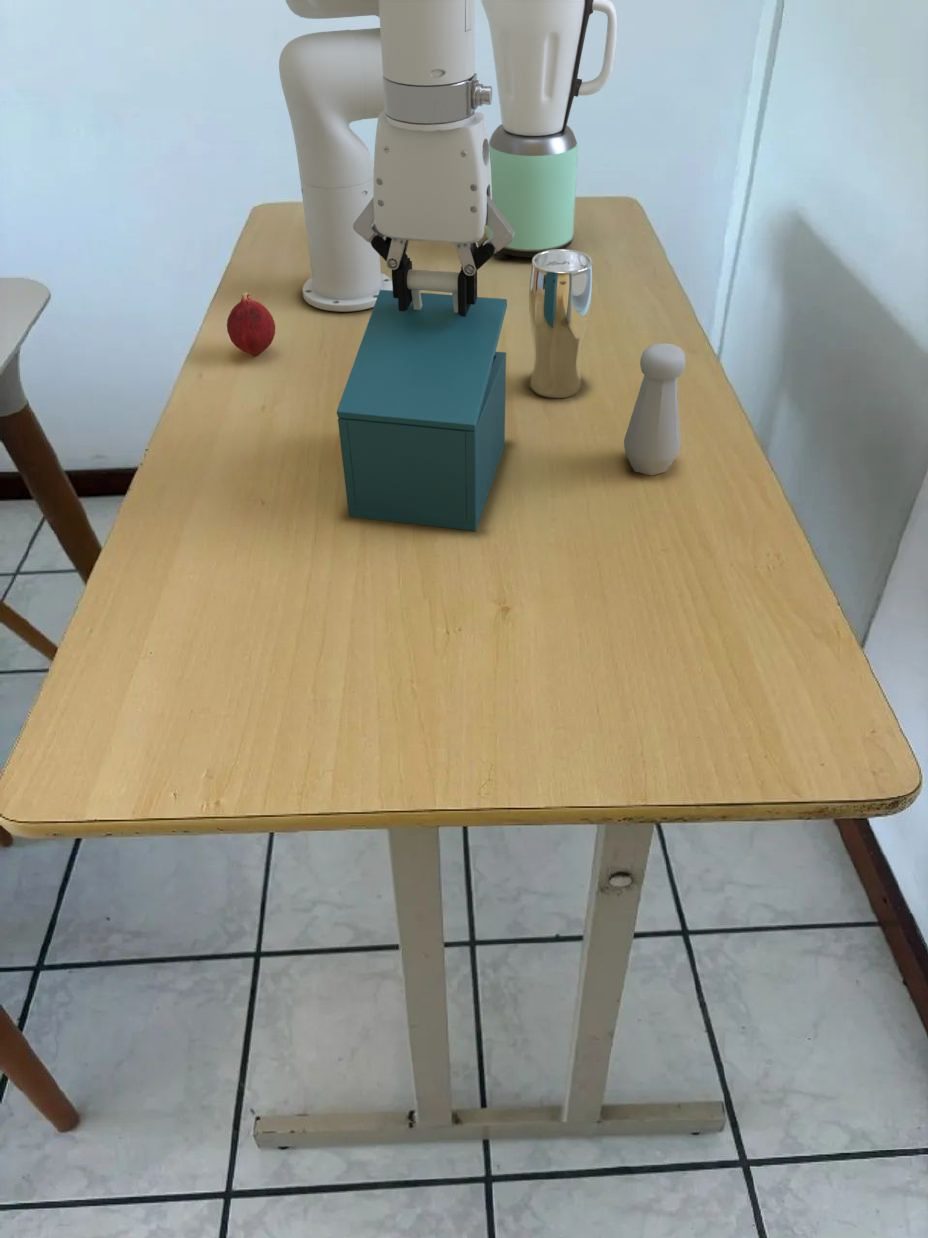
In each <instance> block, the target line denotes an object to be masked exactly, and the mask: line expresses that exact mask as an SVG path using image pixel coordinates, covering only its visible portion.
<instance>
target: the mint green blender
mask: <svg viewBox="0 0 928 1238" xmlns="http://www.w3.org/2000/svg"><path fill="white" fill-rule="evenodd" d="M480 2H481V5H482V8H483V10H484V13H485V16H486V19H487V22H488V27H489V33H490V40H491V47H492V48H491V49H492V55H493V62H494V64H493V65H494V71H495V79H496V88H497V95H498V102H499V103H498V104H499V110H500V118H501V124H499V125H498V126H497V127H496V129H495V130H494V131H493V132H492V134H491V136H490V139H489V140H488V142H489V152H490V164H491V183H492V201H493V202H494V204H495V205H496V206H497V208H498V209H499V210H500V212H501V213H502V214H503V216H504V217H505V218H506V220H507V221H508V223H509V224H510V225H511V227H512V228H513V229H514V231H515V234H514V237H513V239H512V241H511V242H510V243H509V244H508V245H506V246H505V247H504V248H502V249H501V250H500V251H498V252H496V253H495V258H496V259H498V260H507V259H509V258H510V256H512V257H520V258H533V257H534V256H535V255H537V254H538V253H541V252H543V251H547V250H553V249H568V247H569V246H570V245H571V244H572V242H573V239H574V236H575V216H576V200H577V184H578V183H577V181H578V163H579V149H578V147H579V146H578V142H577V139H576V136H575V134H574V131H573V129H572V128H571V127H570V126H569V125H568V121H569V118H570V114H571V109H572V105H573V102H574V98H575V97H576V98H578V97H579V96H591V95H593V94H596V93H598V92H599V91H601V90H602V89H603V88H604V87H605V86H606V85H607V83H608V82H609V81H610V78H611V76H612V73H613V69H614V66H615V60H616V54H617V53H616V52H617V40H618V29H619V27H618V25H619V24H618V23H619V21H618V12H617V8H616V5H615V4H614V3H613V1H611V0H480ZM594 11H597V12H601V13H604V14H605V15H606V17H607V25H606V35H605V36H606V37H605V44H604V51H603V52H604V53H603V59H602V65H601V70H600V72H599V74H598V75H597V76H596V77H595V78H593V79H591V80H587V81H583V79H582V78H578V77H579V70H580V64H581V59H582V54H583V48H584V43H585V39H586V33H587V28H588V25H589V20H590V16H591V15H592V14H593V13H594ZM492 235H494V233H493V231H492V230H491V228H490V227H489V226H488V225H486V239H489V238H490V237H492Z"/></svg>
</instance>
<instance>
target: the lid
mask: <svg viewBox="0 0 928 1238" xmlns="http://www.w3.org/2000/svg"><path fill="white" fill-rule="evenodd" d="M459 273H460V272H458V271H457V272H456V271H443V270H428V269H414V268H412V269H409V270H408V273H407V287H408V289H411V293H412V302H411V304H410V305H409V307H408V309H407V310H405V312H404V311H399V306H398V298H394V297H393V291H390V290H380V291H379V294H378V297H377V300H376V303H375V305H374V307H372V311H371V314H370V316H369V319H368V323H367V326H366V327H365V330H364V334H363V336H362V339H361V342H360V344H359V348H358V350H357V352H356V356H355V359H354V361H353V365H352V368H351V370H350V373H349V375H348V379H347V382H346V384H345V387H344V390H343V392H342V395H341V398H340V400H339V404H338V406H337V409H336V415H337V419H338V418H348V419H358V420H368V421H378V422H389V423H399V424H409V425H419V426H430V427H440V428H450V429H460V430H470V431H475V430H476V427H477V423H478V419H479V415H480V411H481V407H482V403H483V399H484V395H485V391H486V387H487V383H488V379H489V375H490V371H491V367H492V363H493V359H494V355H495V351H496V352H497V347H498V344H499V339H500V335H501V333H502V327H503V323H504V319H505V317H506V312H507V307H508V299H507V298H496V297H484V296H483V297H482V296H477V300H476V303H475V305H472V304H471V306H470V308H469V310H468V313H467V315H466V317H463V316H460V315H458V275H459ZM421 291H428V292H421ZM429 292H430V293H429ZM431 292H440V293H431ZM441 292H442V293H441ZM443 293H451V294H443Z"/></svg>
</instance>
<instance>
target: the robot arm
mask: <svg viewBox="0 0 928 1238" xmlns="http://www.w3.org/2000/svg"><path fill="white" fill-rule="evenodd" d="M285 4H286V5H287V7H288V9H289V10H290V11H291V12H292V13H293V14H294V15H296V16H298V17H300V18H304V19H311V20H314V19H315V20H321V19H322V20H325V19H326V20H327V19H342V18H356V17H368V16H376V17H378V18H379V27H375V28H363V29H362V28H360V29H341V30H330V31H320V32H312V33H305V34H302V35H300V36H297V37H295V38H292V40H290V41H289V42H287V43H286V44H285V46H284V47H283V48H282V50H281V52H280V55H279V59H278V71H279V79H280V85H281V89H282V92H283V96H284V99H285V104H286V107H287V111H288V116H289V119H290V124H291V129H292V133H293V138H294V144H295V151H296V158H297V164H298V165H297V166H298V175H299V179H300V180H299V181H300V189H301V197H302V205H303V212H304V213H303V214H304V221H305V230H306V237H307V245H308V246H307V247H308V254H309V262H310V263H309V264H310V271H311V277H310V278H308V279H307V280H306V281H305V283H304V284H303V286H302V289H301V290H302V297H303V300H304V301H305V302H306V303H307V304H308V305H310V306H312V307H314V308H316V309H320V310H324V311H327V312H336V313H338V312H340V313H341V312H342V313H343V312H344V313H346V312H348V313H349V312H359V311H364V310H368V309H373V308H374V305H375V303H376V300H377V297H378V294H379V291H380V290H390V291H393V297H394V298H398V306H399V311H404V312H405V310H407V309H408V307H409V305H410V304H411V302H412V293H411V289H408V287H407V273H408V270H409V269H413V261H412V260H411V257H409V255H408V254H407V251H408V247H409V244H410V241H417V242H428V243H443V244H454V245H455V248H456V252H457V255H458V258H459V262H460V264H461V266H460V271H459V272H458V273H459V275H458V315H460V316H463V317H466V315H467V313H468V310H469V308H470V306H471V304H472V305H475V303H476V300H477V297H478V271H479V269H480V268H481V267H482V266H484V264H486V263H487V262H488V261H489V260H490V259H491V258H492V257H493V256H494V255H496V252H498V251H500V250H501V249H502V248H504V247H505V246H506V245H508V244H509V243H510V242H511V241H512V239H513V237H514V234H515V231H514V229H513V228H512V227H511V225H510V224H509V223H508V221H507V220H506V218H505V217H504V216H503V214H502V213H501V212H500V210H499V209H498V208H497V206H496V205H495V204H494V202H493V201H492V183H491V164H490V152H489V136H488V135H489V134H488V129H487V122H486V118H485V114H484V113H482V112H481V111H475V110H477V109H478V107H482V106H483V105H485V106H486V105H488V106H490V105H492V103H493V102H492V101H493V87H492V86H491V85H484V84H483V83H480V81H479V79H478V77H477V76H478V74H477V72H476V71H475V70H476V69H475V67H476V63H475V62H476V59H475V57H476V54H475V53H476V52H475V51H476V47H475V46H476V45H475V44H476V39H475V37H476V31H475V30H476V25H475V24H476V0H285ZM370 119H371V120H372V119H377V123H376V131H375V140H374V152H373V153H374V156H373V158H372V154H371V152H370V150H369V148H368V147H367V145H366V144H365V142H364V141H363V140H362V139H361V138H360V137H359V136H358V135H357V134H356V133H355V132H354V130H352V129H351V127H350V124H351V123H353V122H358V121H362V120H370ZM487 225H488V226H489V227H490V228H491V230H492V231H493V233H494V235H492V237H490V238H489V239H487V238H486V239H485V240H484V241H483V242H482V243H481V244H480V245H479V244H478V242H479V241H481V240H482V239H483V237H484V235H485V228H486V227H487ZM381 259H383V260H384V261H385V262H386V263H385V265H386V267H387V268H388V269H389V270H391V277H389V276H388V275H387V274H385V273H383V272H382V266H381Z"/></svg>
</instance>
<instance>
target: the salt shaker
mask: <svg viewBox="0 0 928 1238" xmlns="http://www.w3.org/2000/svg"><path fill="white" fill-rule="evenodd" d="M686 359H687V358H686V353H685V352H684V351H683V349H682V348H680V347H679V346H678V345H675V344H672V343H664V342H661V343H653V344H650V345H649V346H647V347H645V349H644V350H643V351H642V353H641V356H640V359H639V361H640V362H639V366H640V370H641V373H642V374H643V378H642V381H641V384H640V387H639V391H638V394H637V397H636V400H635V403H634V407H633V410H632V413H631V416H630V419H629V422H628V426H627V429H626V433H625V435H624V439H623V446H624V447H623V448H624V452H625V455H626V458H627V459H628V463H629V464H630V466H631V468H632V469H633V471H634V472H636V473H639V474H643V475H647V476H655V475H659V474H664V473H666V472H667V471H668V470H669V468H670V467H671V466H672V464H673V463H674V461H675V460H676V458H677V457H678V455H679V454H680V451H681V449H682V448H681V447H682V446H681V432H680V431H681V430H680V418H679V417H680V415H679V398H678V395H679V394H678V378H680V377H681V376H682V375H683V373H684V372H685V369H686V365H687V361H686Z"/></svg>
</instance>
